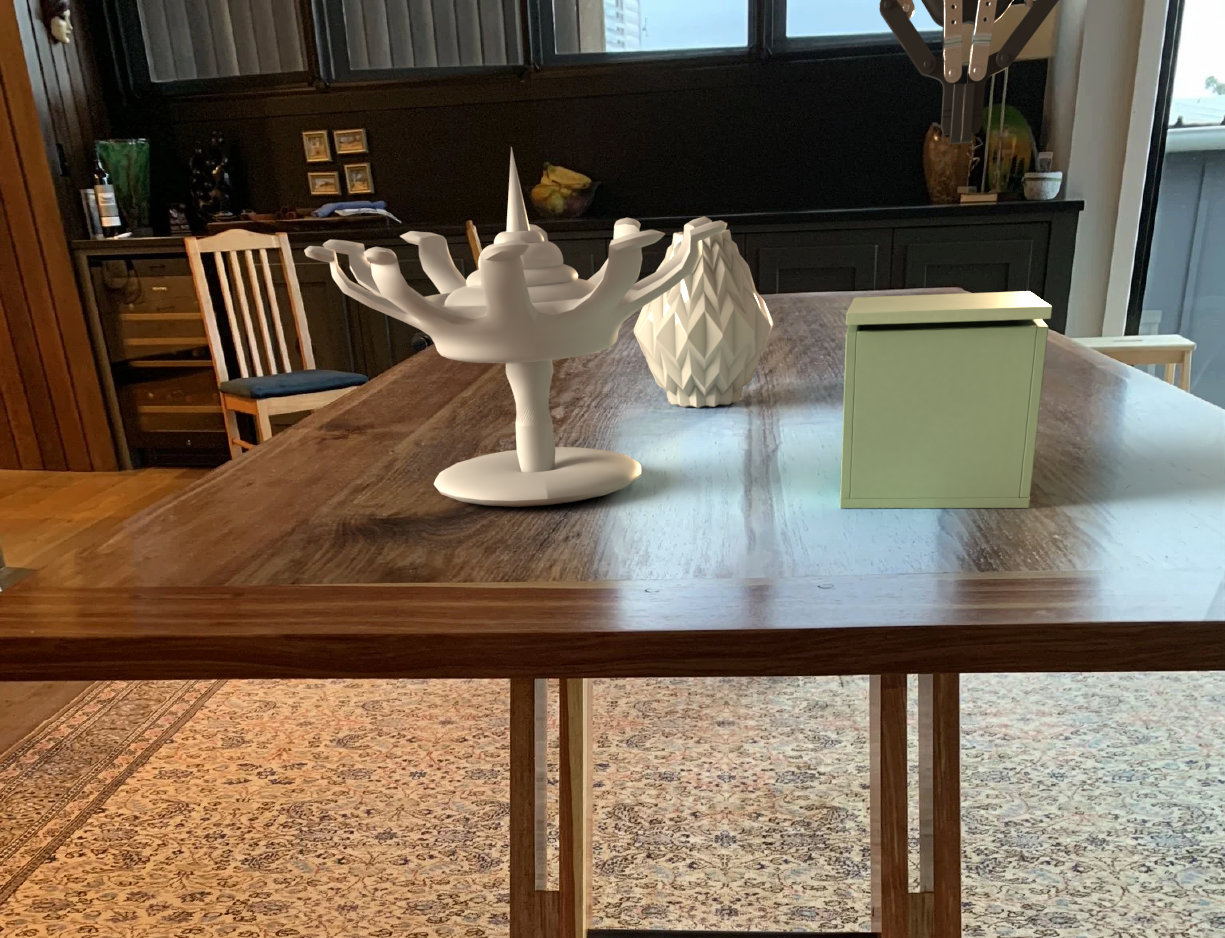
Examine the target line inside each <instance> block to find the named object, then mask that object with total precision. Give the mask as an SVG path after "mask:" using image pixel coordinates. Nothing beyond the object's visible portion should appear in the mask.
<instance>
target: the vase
mask: <svg viewBox="0 0 1225 938" xmlns="http://www.w3.org/2000/svg"><path fill="white" fill-rule="evenodd" d="M683 238H684V231H678V232H674V233H673V234H672V242H671V245H669V246H668V247H667V249H666V253H665V257H664V259H663V260H662V262H661V263H660V265H659V266H658V268H657V269H656V271H655V272H657V271H658V270H659V269H660V268H661V267H662V266H664V265H665V264H666V263H667V262H668V261H669V260H670V259H672V258H673V257H674V256H675V255H676V254H677V252H678V250H679V248H680V245H681V243H682V241H683ZM773 326H774V320H773V318H772V316H771V314H770V311H769V308H768V306H767V304H766V303H765V300H764V299H763V298H762V296H761V295H760V294H759V292H758V291H757V289H756V287H755V283H754V280H753V276H752V272H751V269H750V266H749V264H748V263H747V261H746V260H745V259H744V257H742V255H741V254H740V251H739V248H738V245H737V243H736V242H735V241H733V240H732V233H731V230H730V229H726V230H724V231H722V232H720V233H718V234H716V235H714V236H712V237H709V238H706V239H703V240H702V255H701V257H700V259H699V261H698V263H697V266H696V268H695V270H694V271H693V272H691V273H690V274H689V275H688V276H686V277H685V278H684V279H683V280H681V281H680V282H679V283H678V284H676V285H675V286H674V287H673V288H671V289H670V290H669V291H667V292H665V293H664V294H662V295H661V296H659V297H658V298H656V299H654V300H653V301H651V302H650V303H648V304H646V305H645V306H643V307H642V308H641V311H640V313H639V315H638V318H637V320H636V323H635V325H634V327H633V334H634V337H635V338H636V340H637V343H638V345H639V348H640V349H641V351H642V353H643V356H644V357H645V360H646V362H647V365H648V368H649V371H650V372H651V374H652V376H653V378H654V380H655V383H656V385H657V386H658V387H660V388H661V389H663V390H664V391H665V392H666V396H667V401H668V402H669V404H670V405H672V406H676V407H677V406H680V407H681V408H690V407H694V408H696V409H701V408H704V407H708V408H709V407H710V408H715V407H717V406H729V405H731V404H735V403H738V402H740V401H741V398H742V395H743V389H744V387H745V386H746V385H747V384H749V383H750V382H751V381H752V379H753V377H754V375H755V372H756V370H757V367H758V365H759V362H760V359H761V356H762V353H763V352H764V350H765V349H766V346H767V343H768V340H769V337H770V334H771V332H772V329H773Z"/></svg>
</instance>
